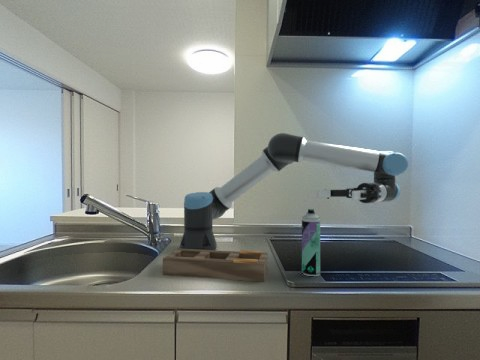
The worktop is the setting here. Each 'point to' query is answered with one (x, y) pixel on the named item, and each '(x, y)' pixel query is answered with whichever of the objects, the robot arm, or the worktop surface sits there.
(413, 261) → the worktop surface
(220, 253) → the rack
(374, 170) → the robot arm
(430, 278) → the worktop surface
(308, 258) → the spray can
